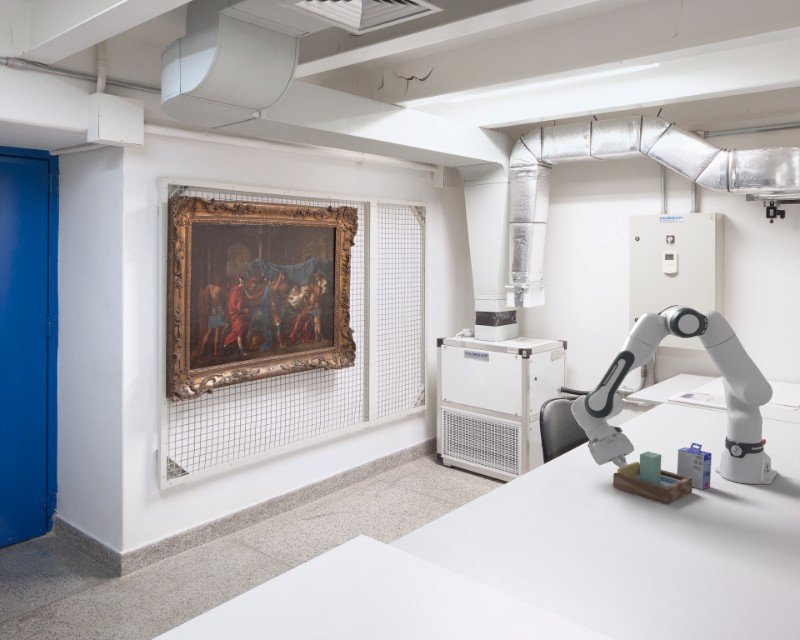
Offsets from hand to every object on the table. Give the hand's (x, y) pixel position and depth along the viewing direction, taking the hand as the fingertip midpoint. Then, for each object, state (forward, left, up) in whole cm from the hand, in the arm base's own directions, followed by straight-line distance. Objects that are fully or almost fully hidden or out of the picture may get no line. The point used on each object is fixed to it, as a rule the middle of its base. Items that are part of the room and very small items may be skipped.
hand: (625, 468), depth 231 cm
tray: (0, +9, -3) cm, 10 cm away
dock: (0, +10, -5) cm, 11 cm away
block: (0, +9, -2) cm, 10 cm away
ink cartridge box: (-15, +17, -5) cm, 24 cm away
